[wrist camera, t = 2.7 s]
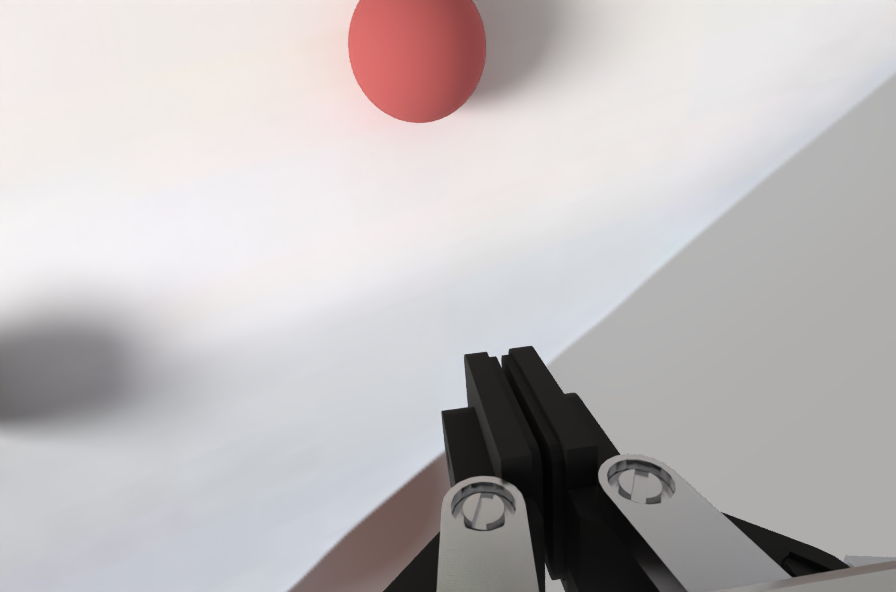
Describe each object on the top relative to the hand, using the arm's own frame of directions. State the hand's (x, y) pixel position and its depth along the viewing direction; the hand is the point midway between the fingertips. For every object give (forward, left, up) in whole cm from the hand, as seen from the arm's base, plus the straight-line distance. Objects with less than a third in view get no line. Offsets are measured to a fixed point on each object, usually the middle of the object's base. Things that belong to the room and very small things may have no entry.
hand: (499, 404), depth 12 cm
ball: (-10, 0, -13) cm, 17 cm away
